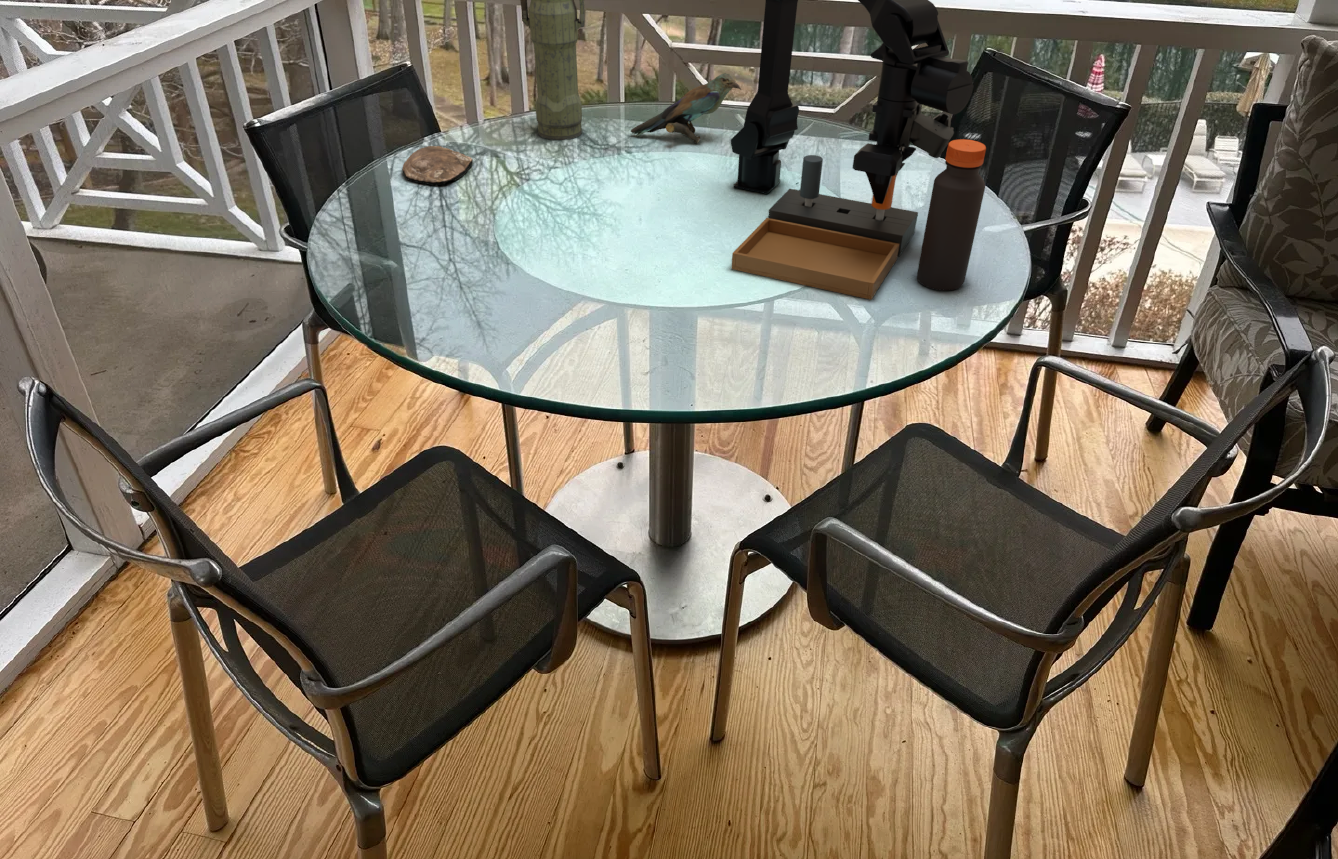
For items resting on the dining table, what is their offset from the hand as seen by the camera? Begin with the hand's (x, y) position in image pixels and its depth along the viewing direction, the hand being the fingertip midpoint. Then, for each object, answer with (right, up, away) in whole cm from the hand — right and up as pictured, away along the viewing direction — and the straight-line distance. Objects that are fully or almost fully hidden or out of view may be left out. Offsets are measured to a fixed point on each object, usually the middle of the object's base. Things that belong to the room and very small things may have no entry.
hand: (882, 199), depth 144 cm
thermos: (-54, +24, +42) cm, 73 cm away
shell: (-75, +11, +25) cm, 79 cm away
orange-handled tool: (0, -5, +4) cm, 6 cm away
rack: (-5, -4, +6) cm, 9 cm away
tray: (-11, -11, -4) cm, 16 cm away
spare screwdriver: (-10, -2, +8) cm, 13 cm away
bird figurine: (-30, +21, +39) cm, 54 cm away
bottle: (+7, -14, -7) cm, 17 cm away
